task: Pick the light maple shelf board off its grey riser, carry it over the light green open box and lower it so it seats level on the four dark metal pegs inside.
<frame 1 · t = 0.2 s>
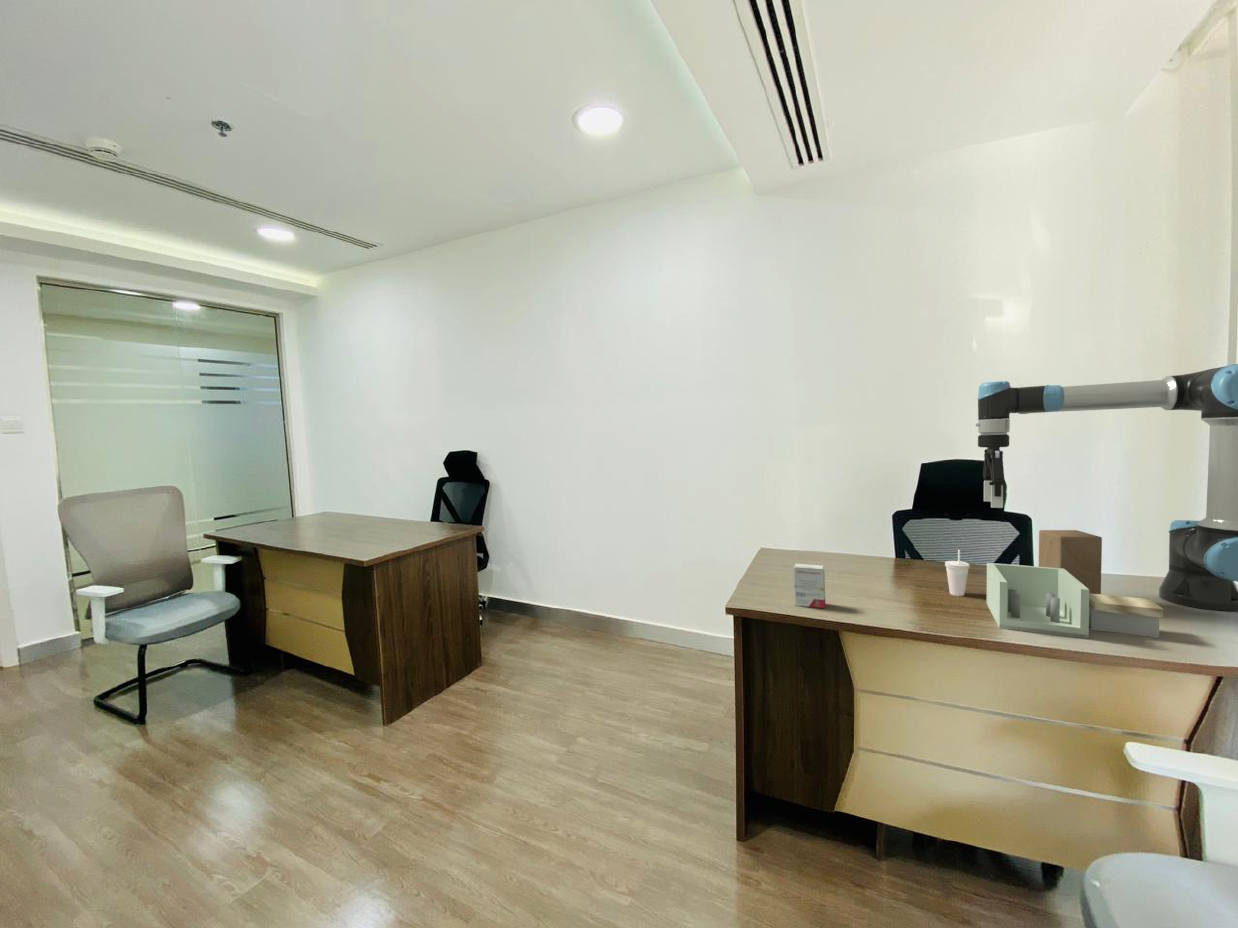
hand: (992, 504, 149), 28 cm above the table, fingers open, 13 cm apart
smoothie: (957, 594, 152), on the table
wooden block: (1068, 602, 143), on the table
light green open box: (1032, 620, 130), on the table
ink box: (809, 605, 148), on the table
shelf board: (1121, 608, 122), point 5 cm above the table, touching riser
riser: (1121, 630, 122), on the table
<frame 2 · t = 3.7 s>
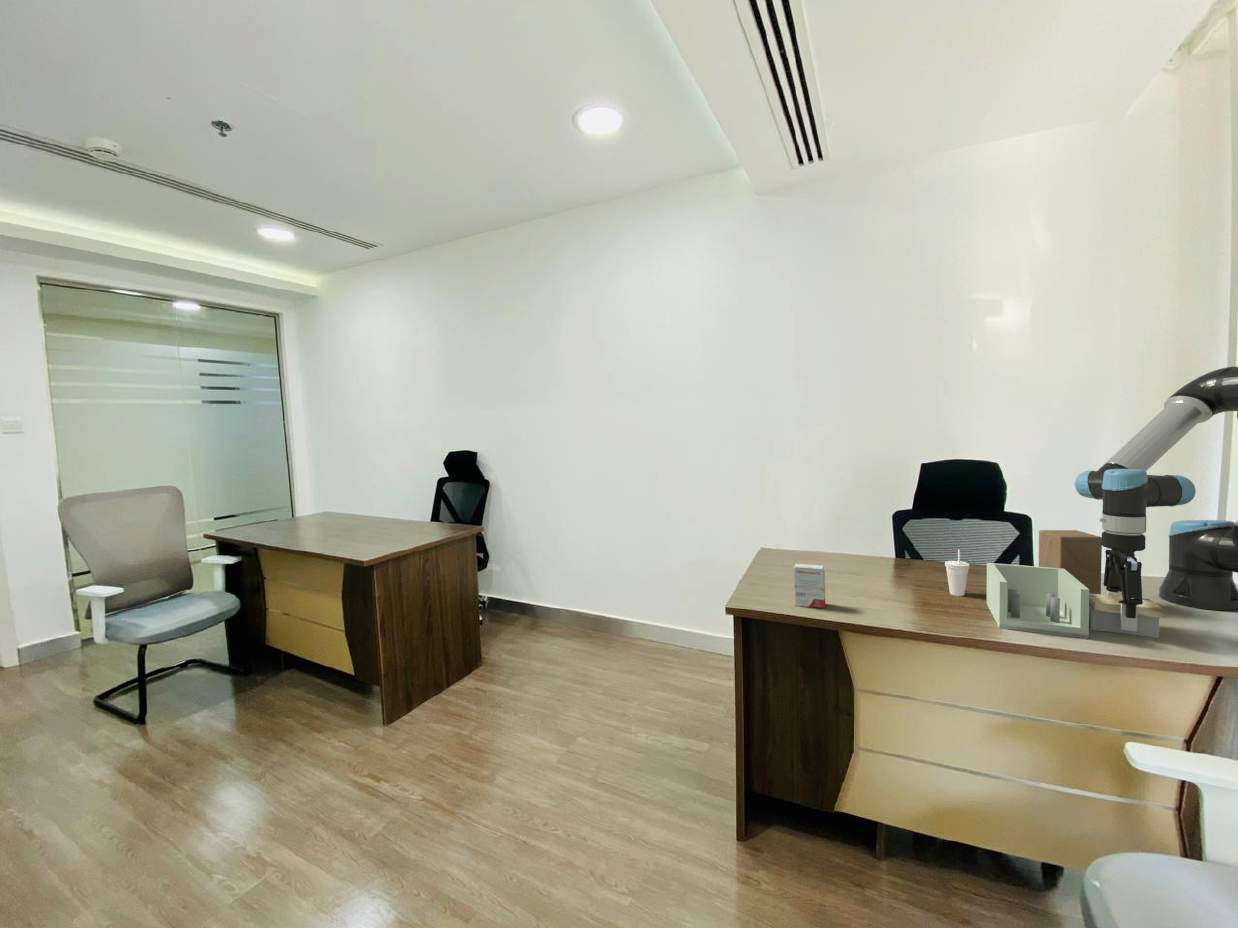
hand: (1121, 623, 122), 2 cm above the table, fingers closed on shelf board, 8 cm apart
shelf board: (1121, 608, 122), point 6 cm above the table, touching gripper, riser
everything else where it was.
when the fingers open (4 cm above the table, at t = 9.3 s): shelf board drops 1 cm, resting on light green open box.
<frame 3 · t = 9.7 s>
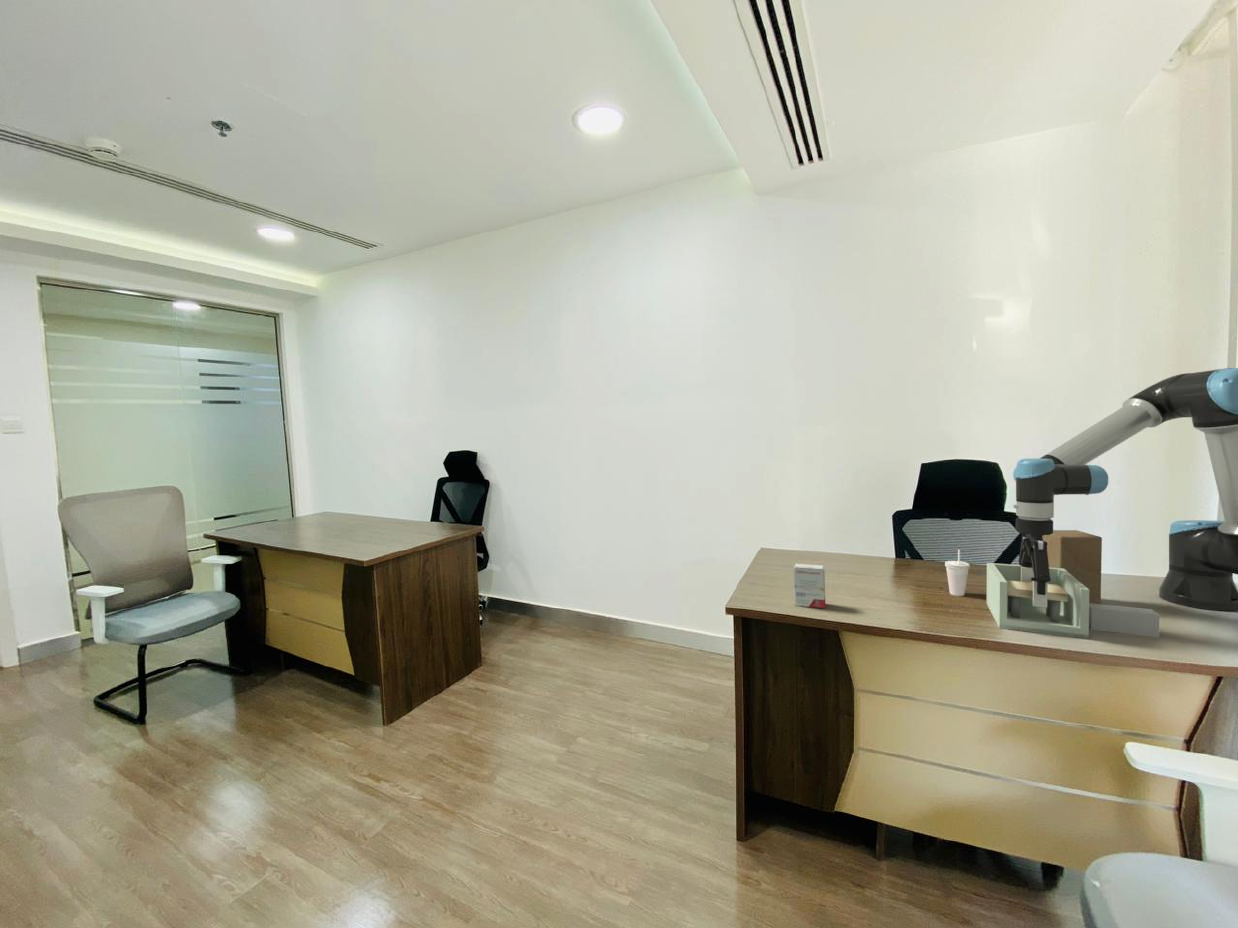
hand: (1033, 598, 130), 6 cm above the table, fingers open, 13 cm apart
shelf board: (1033, 593, 130), point 7 cm above the table, touching light green open box
everything else where it was.
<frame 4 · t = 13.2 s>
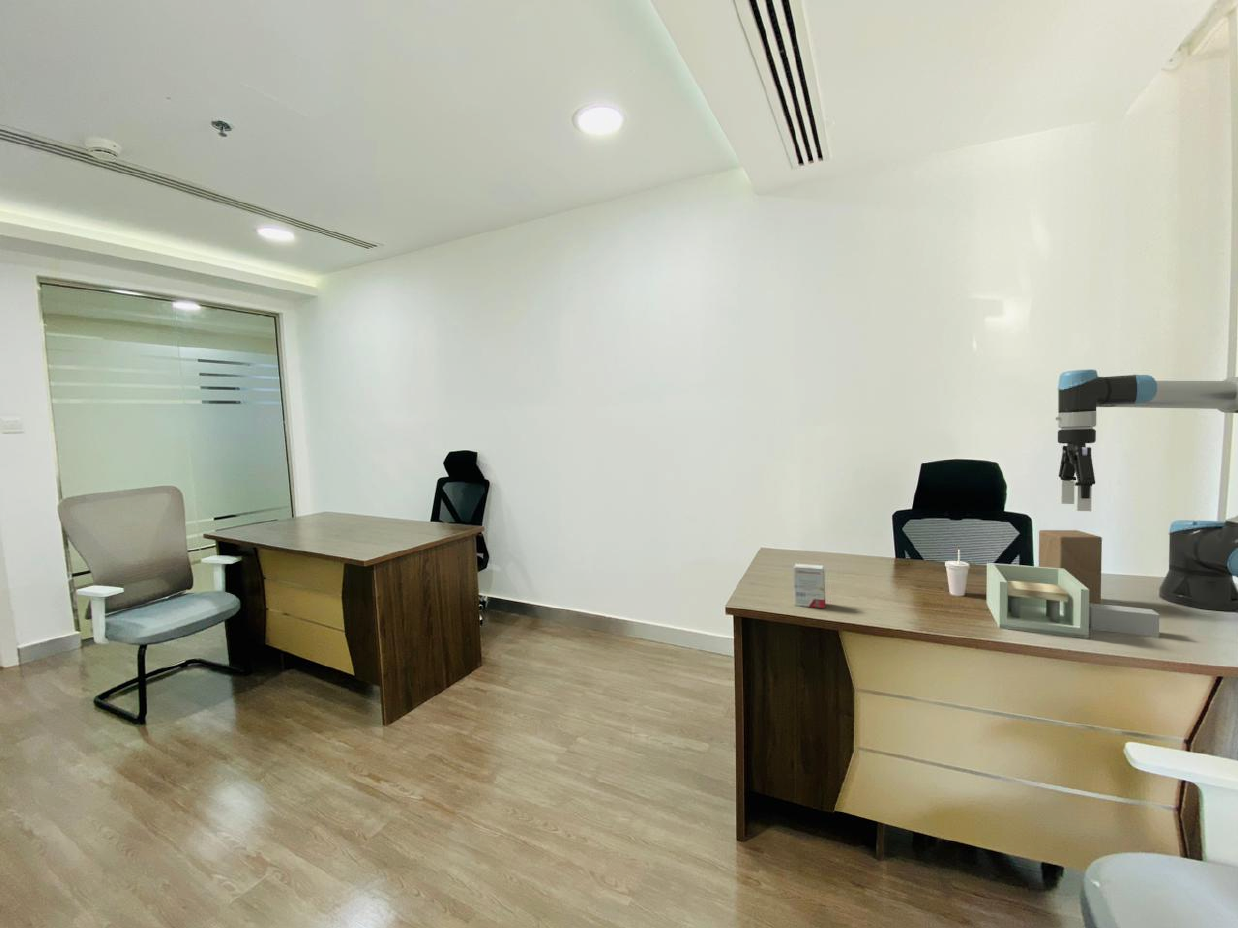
hand: (1075, 507, 134), 29 cm above the table, fingers open, 13 cm apart
nothing on the table moved.
at the end: shelf board 0.0 cm off-centre on the light green open box, point 7.0 cm above the light green open box's base; shelf board tilted 0°; the gripper is holding nothing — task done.
